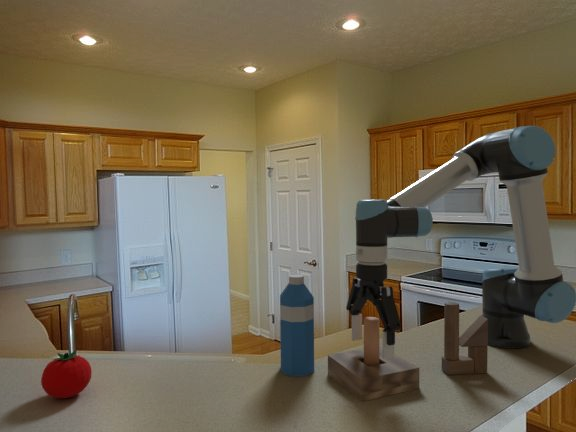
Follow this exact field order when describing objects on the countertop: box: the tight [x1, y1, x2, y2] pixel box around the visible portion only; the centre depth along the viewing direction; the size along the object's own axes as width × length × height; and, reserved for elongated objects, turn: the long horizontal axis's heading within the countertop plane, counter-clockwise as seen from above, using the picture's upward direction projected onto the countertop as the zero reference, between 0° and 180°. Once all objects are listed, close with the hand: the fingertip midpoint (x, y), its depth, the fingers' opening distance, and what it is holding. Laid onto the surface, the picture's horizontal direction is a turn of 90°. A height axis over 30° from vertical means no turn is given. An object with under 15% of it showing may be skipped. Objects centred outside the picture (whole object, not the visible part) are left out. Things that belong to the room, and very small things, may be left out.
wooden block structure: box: [441, 301, 489, 376], centre depth 109 cm, size 4×11×18 cm, turn 95°
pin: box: [363, 316, 380, 366], centre depth 104 cm, size 4×4×14 cm
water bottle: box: [279, 274, 315, 377], centre depth 111 cm, size 9×9×25 cm
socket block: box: [327, 345, 420, 402], centre depth 104 cm, size 16×16×5 cm
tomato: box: [40, 350, 93, 399], centre depth 98 cm, size 10×10×10 cm
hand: (371, 348), depth 104 cm, fingers open, 13 cm apart
